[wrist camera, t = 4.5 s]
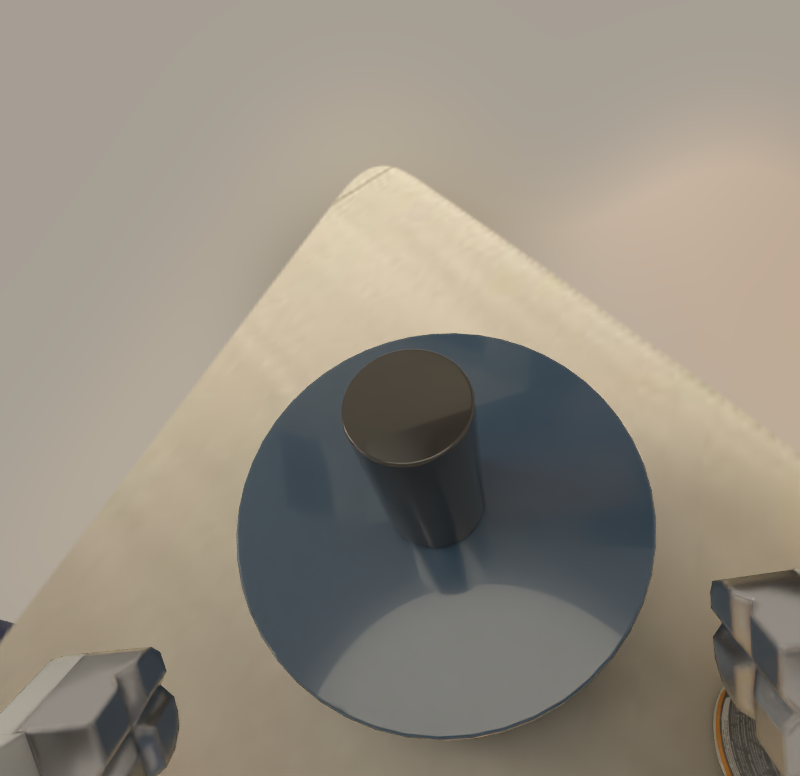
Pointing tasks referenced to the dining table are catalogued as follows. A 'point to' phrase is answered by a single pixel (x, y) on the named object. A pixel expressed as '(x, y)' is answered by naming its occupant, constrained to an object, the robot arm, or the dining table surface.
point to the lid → (446, 536)
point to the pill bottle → (739, 742)
